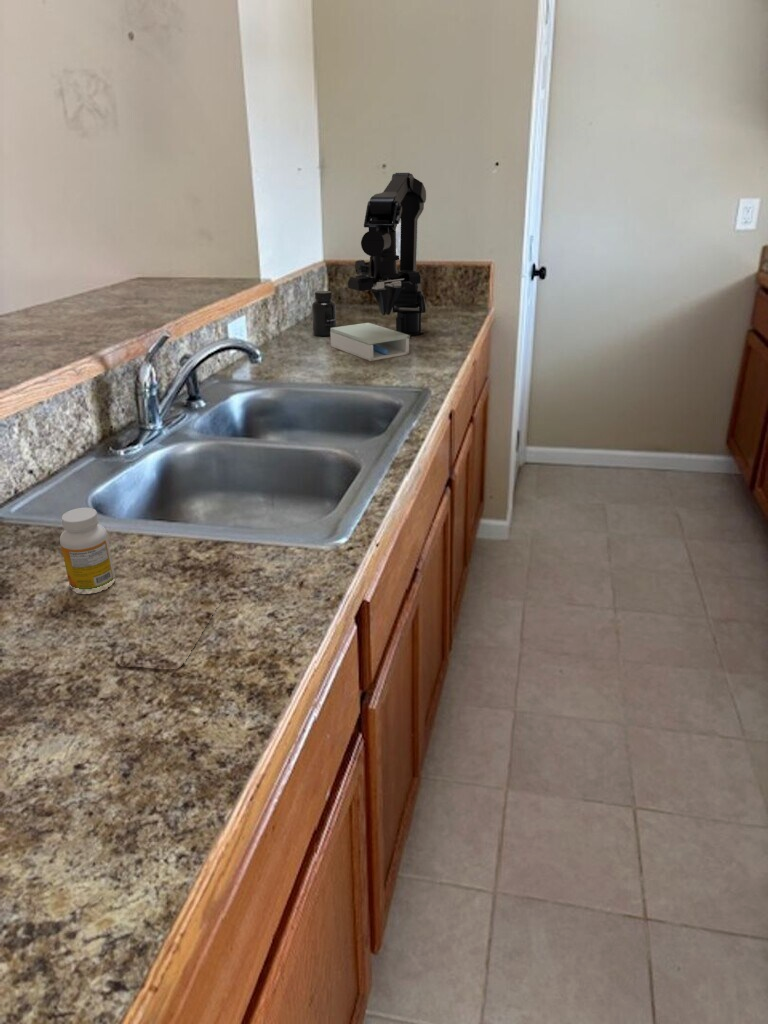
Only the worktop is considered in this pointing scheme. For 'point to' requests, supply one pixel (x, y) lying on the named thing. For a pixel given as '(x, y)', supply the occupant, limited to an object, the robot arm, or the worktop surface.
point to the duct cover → (369, 333)
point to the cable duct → (370, 347)
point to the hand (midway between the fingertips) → (385, 314)
